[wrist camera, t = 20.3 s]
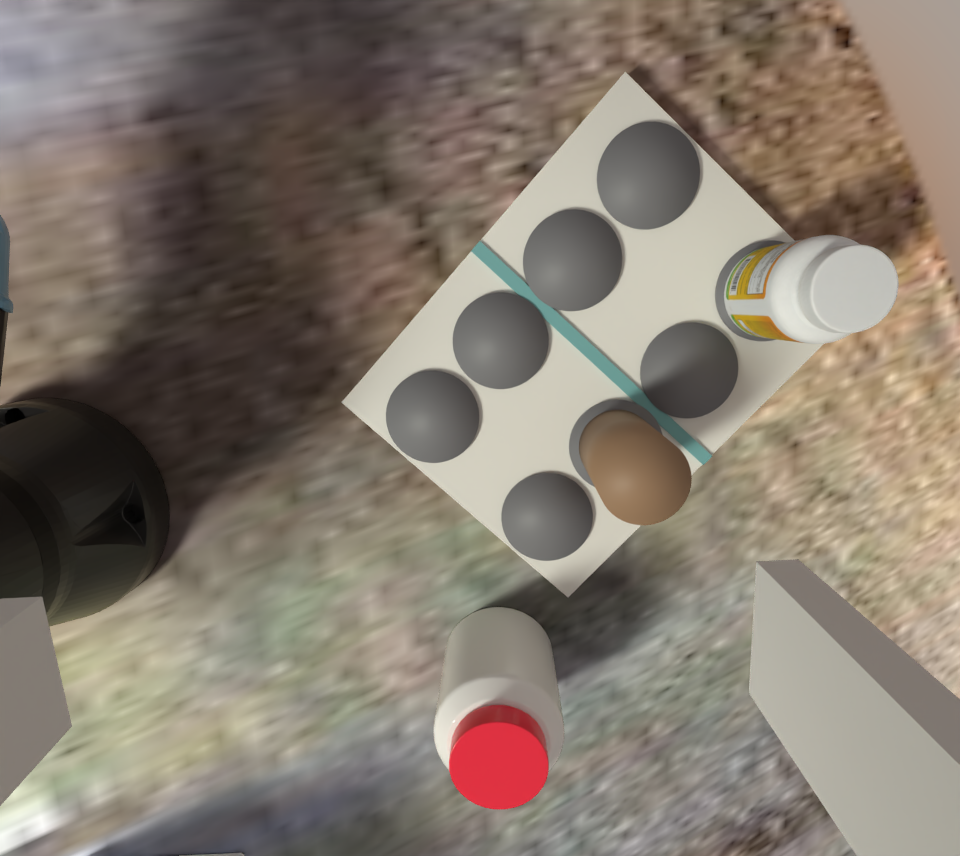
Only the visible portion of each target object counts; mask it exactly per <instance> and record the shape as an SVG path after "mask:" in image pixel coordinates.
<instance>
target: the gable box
mask: <svg viewBox="0 0 960 856" xmlns="http://www.w3.org/2000/svg"><path fill="white" fill-rule="evenodd" d="M181 856H245V855H244V854H243V853H226V854H204V855H181Z"/></svg>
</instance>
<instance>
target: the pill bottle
mask: <svg viewBox="0 0 960 856" xmlns="http://www.w3.org/2000/svg"><path fill="white" fill-rule="evenodd" d="M433 730H434V741H435V745H436V749H437V752H438V754H439V756H440V758H441V760H442V762H443V763H444V765H445V766H446V767H447V768H448V769H449V771H450V775H451V778H452V781H453V783H454V785H455V787H456V788H457V789H458V790H459V792H460V793H461V794H462V795H463V796H464V797H466V798H467V799H468V800H469V801H471V802H473V803H475V804H477V805H479V806H482V807H485V808H490V809H509V808H515V807H517V806H520V805H523V804H525V803H526V802H528V801H530V800H531V799H532V798H533V797H535V796H536V795H537V794H538V793H539V791H540V790H541V789H542V787H543V786H544V784H545V781H546V779H547V775H548V772H549V771H550V770H551V769H552V767H553V766H554V765H555V763H556V762H557V760H558V758H559V756H560V753H561V751H562V747H563V742H564V721H563V715H562V708H561V702H560V695H559V689H558V682H557V676H556V669H555V663H554V656H553V651H552V646H551V642H550V640H549V638H548V635H547V633H546V632H545V630H544V629H543V628H542V627H541V625H540V624H539V623H538V622H537V621H535V620H534V619H533V618H532V617H530V616H528V615H527V614H525V613H523V612H521V611H518V610H515V609H511V608H505V607H491V608H486V609H481V610H479V611H476V612H474V613H471V614H470V615H468V616H467V617H465V618H464V619H462V620H461V621H460V622H459V623H458V624H457V625H456V627H455V628H454V629H453V631H452V632H451V634H450V636H449V639H448V641H447V644H446V650H445V656H444V662H443V669H442V675H441V682H440V688H439V695H438V701H437V708H436V714H435V721H434V728H433Z"/></svg>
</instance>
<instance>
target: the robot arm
mask: <svg viewBox="0 0 960 856" xmlns="http://www.w3.org/2000/svg"><path fill="white" fill-rule="evenodd" d="M9 253H10V236H9V232H8V228H7V226H6V224H5V221H4V220H3V218H2V217H1V215H0V385H1V376H2V367H3V357H4V348H5V339H6V330H7V320H8V312H9V313H12V312H13V303H12V301H11V300H10V299H9V298H8V281H9ZM168 529H169V505H168V499H167V494H166V490H165V486H164V483H163V480H162V478H161V475H160V473H159V471H158V469H157V467H156V465H155V463H154V461H153V459H152V458H151V456H150V455H149V453H148V452H147V451H146V449H145V448H144V447H143V445H142V444H141V443H140V442H139V441H138V440H137V438H136V437H135V436H134V435H133V434H132V433H131V432H129V431H128V430H127V429H126V428H125V427H124V426H122V425H121V424H120V423H119V422H117V421H116V420H114V419H113V418H111V417H110V416H108V415H106V414H104V413H103V412H101V411H99V410H97V409H95V408H92V407H90V406H87V405H84V404H81V403H78V402H74V401H70V400H64V399H56V398H36V399H29V400H24V401H19V402H14V403H9V404H5V405H0V806H1V804H2V803H3V802H4V801H5V800H6V799H7V798H8V797H9V796H10V794H11V793H12V792H13V791H14V790H15V789H16V788H17V787H18V786H19V784H20V783H21V782H22V781H23V780H24V779H25V778H26V777H27V775H28V774H29V773H30V772H31V771H32V770H33V769H34V768H35V767H36V765H37V764H38V763H39V762H40V761H41V760H42V759H43V758H44V757H45V755H46V754H47V753H48V752H49V751H50V750H51V749H52V748H53V747H54V745H55V744H56V743H57V742H58V741H59V740H60V739H61V738H62V737H63V735H64V734H65V733H66V732H67V731H68V730H69V729H70V728H71V727H72V724H71V720H70V716H69V711H68V707H67V703H66V698H65V694H64V689H63V685H62V681H61V676H60V672H59V668H58V663H57V659H56V654H55V650H54V646H53V641H52V637H51V633H50V628H49V626H53V625H57V624H61V623H64V622H68V621H72V620H75V619H79V618H83V617H86V616H89V615H92V614H95V613H97V612H99V611H101V610H103V609H106V608H107V607H109V606H111V605H113V604H114V603H116V602H117V601H119V600H120V599H121V598H123V597H124V596H125V595H126V594H128V593H129V592H130V591H132V590H133V589H134V588H135V587H137V586H138V585H139V584H140V583H141V582H142V581H144V579H145V578H146V577H147V576H148V575H149V574H150V573H151V571H152V570H153V569H154V567H155V565H156V564H157V562H158V560H159V558H160V557H161V554H162V552H163V549H164V546H165V543H166V539H167V535H168ZM749 694H750V695H751V697H752V698H753V700H754V701H755V703H756V705H757V706H758V708H759V709H760V711H761V712H762V714H763V715H764V717H765V718H766V720H767V721H768V723H769V724H770V726H771V727H772V729H773V730H774V732H775V733H776V735H777V736H778V738H779V739H780V741H781V742H782V744H783V745H784V747H785V748H786V750H787V751H788V753H789V754H790V756H791V757H792V759H793V760H794V762H795V763H796V765H797V766H798V768H799V769H800V771H801V772H802V774H803V775H804V777H805V778H806V780H807V781H808V783H809V784H810V786H811V787H812V789H813V790H814V792H815V793H816V795H817V796H818V798H819V800H820V801H821V803H822V804H823V806H824V807H825V809H826V810H827V812H828V813H829V815H830V816H831V818H832V819H833V821H834V822H835V824H836V825H837V827H838V828H839V830H840V831H841V833H842V834H843V836H844V837H845V839H846V840H847V842H848V843H849V845H850V846H851V848H852V849H853V851H854V852H855V854H856V855H857V856H960V699H959V698H958V697H956V696H955V695H954V694H953V693H952V692H951V691H949V690H948V689H947V688H946V687H945V686H944V685H943V684H941V683H940V682H939V681H938V680H937V679H936V678H934V677H933V676H932V675H931V674H930V673H929V672H928V671H926V670H925V669H924V668H923V667H922V666H921V665H919V664H918V663H917V662H916V661H915V660H914V659H913V658H911V657H910V656H909V655H908V654H907V653H906V652H904V651H903V650H902V649H901V648H900V647H899V646H898V645H896V644H895V643H894V642H893V641H892V640H891V639H889V638H888V637H887V636H886V635H885V634H884V633H883V632H881V631H880V630H879V629H878V628H877V627H876V626H874V625H873V624H872V623H871V622H870V621H869V620H867V619H866V618H865V617H864V616H863V615H862V614H861V613H859V612H858V611H857V610H856V609H855V608H854V607H852V606H851V605H850V604H849V603H848V602H847V601H846V600H844V599H843V598H842V597H841V596H840V595H839V594H837V593H836V592H835V591H834V590H833V589H832V588H831V587H829V586H828V585H827V584H826V583H825V582H824V581H822V580H821V579H820V578H819V577H818V576H817V575H816V574H814V573H813V572H812V571H811V570H810V569H809V568H807V567H806V566H805V565H804V564H803V563H802V562H801V561H799V560H798V559H797V560H776V561H756V577H755V595H754V613H753V631H752V648H751V666H750V684H749Z"/></svg>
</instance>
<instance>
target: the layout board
mask: <svg viewBox="0 0 960 856" xmlns="http://www.w3.org/2000/svg"><path fill="white" fill-rule="evenodd" d="M793 241H794V240H793V239H792V238H791V237H790V236H789V235H788V234H787V233H786V232H785V231H784V230H783V229H782V228H781V227H780V226H779V225H778V224H777V223H776V222H775V221H774V220H773V219H772V218H771V217H770V216H769V215H768V214H767V213H766V212H765V211H764V210H763V209H762V208H761V207H760V206H759V205H758V204H757V203H756V202H755V201H754V200H753V199H752V198H751V197H750V196H749V195H748V194H747V193H746V192H745V191H744V190H743V189H742V188H741V187H740V186H739V185H738V184H737V183H736V182H735V181H734V180H733V179H732V178H731V177H730V176H729V175H728V174H727V173H726V172H725V171H724V170H723V169H722V168H721V167H720V166H719V165H718V164H717V163H716V162H715V161H714V160H713V159H712V158H711V157H710V156H709V155H708V154H707V153H706V152H705V151H704V150H703V149H702V148H701V147H700V146H699V145H698V144H697V143H696V142H695V141H694V140H693V139H692V138H691V137H690V136H689V135H688V134H687V133H686V132H685V131H684V130H683V129H682V128H681V127H680V126H679V125H678V124H677V123H676V122H675V121H674V120H673V119H672V118H671V117H670V116H669V115H668V114H667V113H666V112H665V111H664V110H663V109H662V108H661V107H660V106H659V105H658V104H657V103H656V102H655V101H654V100H653V99H652V98H651V97H650V96H649V95H648V94H647V93H646V92H645V91H644V90H643V89H642V88H641V87H640V86H639V85H638V84H637V83H636V82H635V81H634V80H633V79H632V78H631V77H630V76H629V75H628V74H627V73H626V72H625V73H624V74H623V75H622V76H621V77H620V79H619V80H618V81H617V82H616V83H615V84H614V86H613V87H612V88H611V89H610V90H609V91H608V93H607V94H606V95H605V96H604V97H603V98H602V100H601V101H600V102H599V103H598V104H597V105H596V107H595V108H594V109H593V110H592V111H591V112H590V114H589V115H588V116H587V117H586V118H585V119H584V121H583V122H582V123H581V124H580V125H579V126H578V128H577V129H576V130H575V131H574V132H573V133H572V135H571V136H570V137H569V138H568V139H567V140H566V141H565V143H564V144H563V145H562V146H561V147H560V148H559V150H558V151H557V152H556V153H555V154H554V155H553V157H552V158H551V159H550V160H549V161H548V162H547V164H546V165H545V166H544V167H543V168H542V169H541V171H540V172H539V173H538V174H537V175H536V176H535V178H534V179H533V180H532V181H531V182H530V183H529V185H528V186H527V187H526V188H525V189H524V190H523V192H522V193H521V194H520V195H519V196H518V197H517V199H516V200H515V201H514V202H513V203H512V204H511V206H510V207H509V208H508V209H507V210H506V211H505V213H504V214H503V215H502V216H501V217H500V218H499V220H498V221H497V222H496V223H495V224H494V225H493V227H492V228H491V229H490V230H489V231H488V232H487V234H486V235H485V236H484V237H483V238H482V239H481V241H479V242H478V244H477V245H476V246H475V247H474V248H473V249H472V251H471V252H470V253H469V255H468V256H467V257H466V258H465V259H464V260H463V262H462V263H461V264H460V265H459V266H458V267H457V268H456V270H455V271H454V272H453V273H452V274H451V275H450V277H449V278H448V279H447V280H446V281H445V282H444V284H443V285H442V286H441V287H440V288H439V289H438V291H437V292H436V293H435V294H434V295H433V296H432V298H431V299H430V300H429V301H428V302H427V303H426V305H425V306H424V307H423V308H422V309H421V310H420V312H419V313H418V314H417V315H416V316H415V317H414V319H413V320H412V321H411V322H410V323H409V324H408V326H407V327H406V328H405V329H404V330H403V331H402V333H401V334H400V335H399V336H398V337H397V338H396V340H395V341H394V342H393V343H392V344H391V345H390V347H389V348H388V349H387V350H386V351H385V352H384V354H383V355H382V356H381V357H380V358H379V359H378V361H377V362H376V363H375V364H374V365H373V366H372V368H371V369H370V370H369V371H368V372H367V373H366V375H365V376H364V377H363V378H362V379H361V380H360V382H359V383H358V384H357V385H356V386H355V387H354V388H353V390H352V391H351V392H350V393H349V394H348V395H347V397H346V398H345V399H344V400H343V401H342V403H343V404H344V405H345V406H346V407H347V408H349V409H350V410H351V411H352V412H353V413H354V414H356V415H357V416H358V417H359V418H360V419H361V420H363V421H364V422H365V423H366V424H367V425H368V426H370V427H371V428H372V429H373V430H374V431H375V432H376V433H378V434H379V435H380V436H381V437H382V438H383V439H385V440H386V441H387V442H388V443H389V444H390V445H392V446H393V447H394V448H395V449H396V450H397V451H399V452H400V453H401V454H402V455H403V456H404V457H405V458H407V459H408V460H409V461H410V462H411V463H412V464H414V465H415V466H416V467H417V468H418V469H419V470H421V471H422V472H423V473H424V474H425V475H426V476H428V477H429V478H430V479H431V480H432V481H433V482H434V483H436V484H437V485H438V486H439V487H440V488H441V489H443V490H444V491H445V492H446V493H447V494H448V495H450V496H451V497H452V498H453V499H454V500H455V501H457V502H458V503H459V504H460V505H461V506H462V507H464V508H465V509H466V510H467V511H468V512H469V513H470V514H472V515H473V516H474V517H475V518H476V519H477V520H479V521H480V522H481V523H482V524H483V525H484V526H486V527H487V528H488V529H489V530H490V531H491V532H493V533H494V534H495V535H496V536H497V537H498V538H499V539H501V540H502V541H503V542H504V543H505V544H506V545H508V546H509V547H510V548H511V549H512V550H513V551H515V552H516V553H517V554H518V555H519V556H520V557H522V558H523V559H524V560H525V561H526V562H527V563H528V564H530V565H531V566H532V567H533V568H534V569H535V570H537V571H538V572H539V573H540V574H541V575H542V576H544V577H545V578H546V579H547V580H548V581H549V582H551V583H552V584H553V585H554V586H555V587H556V588H557V589H559V590H560V591H561V592H562V593H563V594H564V595H566V596H567V597H569V596H570V595H571V594H572V593H573V592H574V591H575V590H576V589H577V588H578V587H579V586H580V585H581V584H582V583H583V582H584V581H585V580H586V579H587V578H588V577H589V576H590V575H591V574H592V573H593V572H594V571H595V570H596V569H597V568H598V567H599V566H600V565H601V564H602V563H603V562H604V561H605V560H606V559H607V558H608V557H609V556H610V555H611V554H612V553H613V552H614V551H615V550H616V549H617V548H618V547H619V546H620V545H621V544H622V543H624V542H625V541H626V540H627V539H628V538H629V537H630V536H631V535H632V534H633V533H634V532H635V531H636V530H637V529H638V528H639V527H640V526H641V525H651V524H655V523H659V522H661V521H664V520H666V519H668V518H669V517H671V516H672V515H674V514H675V513H676V512H677V511H678V510H679V509H680V508H681V507H682V505H683V504H684V502H685V501H686V499H687V497H688V494H689V492H690V488H691V479H692V478H691V475H692V474H693V473H694V472H695V471H696V470H697V469H698V468H699V467H700V466H701V465H702V464H703V465H704V464H705V463H706V462H707V461H708V460H709V459H710V458H711V457H712V454H713V453H714V452H715V451H716V450H717V449H718V448H719V447H720V446H721V445H722V444H723V443H724V442H725V441H726V440H727V439H728V438H729V437H730V436H731V435H732V434H733V433H734V432H735V431H736V430H737V429H738V428H739V427H740V426H741V425H742V424H743V423H744V422H745V421H747V420H748V419H749V418H750V417H751V416H752V415H753V414H754V413H755V412H756V411H757V410H758V409H759V408H760V407H761V406H762V405H763V404H764V403H765V402H766V401H767V400H768V399H769V398H770V397H771V396H772V395H773V394H774V393H775V392H776V391H777V390H778V389H779V388H780V387H781V386H782V385H783V384H784V383H785V382H786V381H787V380H788V379H789V378H790V377H791V376H792V375H793V374H794V373H795V372H796V371H797V370H798V369H799V368H800V367H801V366H802V365H803V364H804V363H805V362H806V361H807V360H808V359H809V358H810V357H811V356H812V355H813V354H814V353H815V352H816V351H817V350H818V349H819V348H820V347H821V346H822V345H823V344H809V343H800V342H793V341H785V340H777V339H769V338H761V337H756V336H753V335H750V334H748V333H746V332H744V331H742V330H741V329H740V328H739V327H737V326H736V325H735V324H734V322H733V321H732V320H731V318H730V317H729V315H728V313H727V310H726V307H725V302H724V290H725V285H726V282H727V279H728V276H729V274H730V273H731V271H732V269H733V268H734V267H735V265H736V264H737V263H738V262H739V261H740V260H741V259H742V258H744V257H745V256H746V255H748V254H749V253H751V252H753V251H755V250H758V249H761V248H765V247H769V246H774V245H779V244H783V243H788V242H793Z"/></svg>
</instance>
